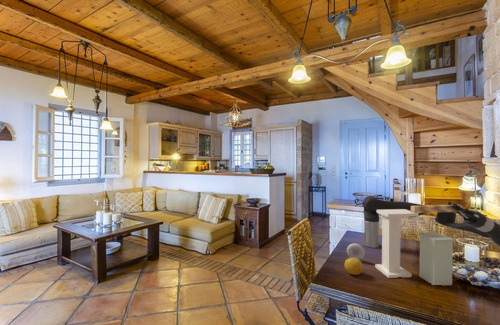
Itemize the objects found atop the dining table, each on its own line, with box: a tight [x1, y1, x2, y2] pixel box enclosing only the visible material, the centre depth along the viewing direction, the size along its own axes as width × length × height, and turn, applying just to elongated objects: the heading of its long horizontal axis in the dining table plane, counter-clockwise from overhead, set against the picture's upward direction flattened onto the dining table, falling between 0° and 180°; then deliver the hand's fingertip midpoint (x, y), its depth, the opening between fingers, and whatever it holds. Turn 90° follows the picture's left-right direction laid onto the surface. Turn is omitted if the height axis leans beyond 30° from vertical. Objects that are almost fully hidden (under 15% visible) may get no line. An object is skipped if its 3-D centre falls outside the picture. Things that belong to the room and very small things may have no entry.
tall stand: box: [374, 209, 420, 279], centre depth 128 cm, size 16×12×32 cm
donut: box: [346, 242, 366, 261], centre depth 143 cm, size 10×4×10 cm, turn 62°
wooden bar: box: [411, 203, 463, 214], centre depth 118 cm, size 24×2×3 cm, turn 93°
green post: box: [417, 232, 456, 286], centre depth 119 cm, size 10×10×22 cm
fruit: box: [344, 257, 364, 276], centre depth 127 cm, size 9×8×8 cm
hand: (449, 204), depth 119 cm, fingers closed on wooden bar, 2 cm apart
